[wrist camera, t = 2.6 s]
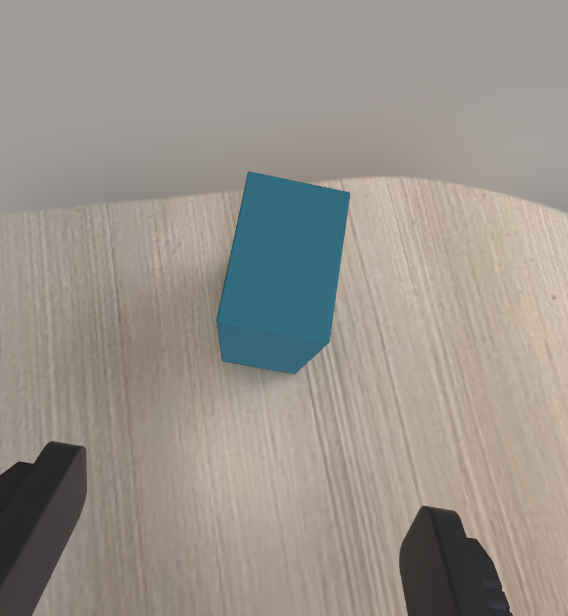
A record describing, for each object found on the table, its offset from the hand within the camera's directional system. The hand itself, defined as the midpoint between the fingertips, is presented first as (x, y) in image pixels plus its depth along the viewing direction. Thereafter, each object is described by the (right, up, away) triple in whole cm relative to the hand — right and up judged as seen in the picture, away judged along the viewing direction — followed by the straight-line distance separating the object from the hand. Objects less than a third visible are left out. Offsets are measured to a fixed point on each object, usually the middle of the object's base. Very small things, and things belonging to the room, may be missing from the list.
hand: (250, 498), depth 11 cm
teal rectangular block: (0, +4, +14) cm, 15 cm away
